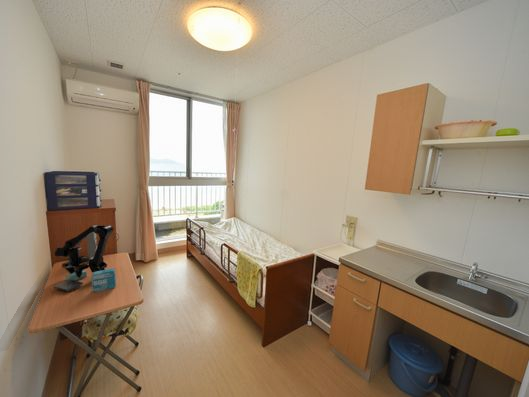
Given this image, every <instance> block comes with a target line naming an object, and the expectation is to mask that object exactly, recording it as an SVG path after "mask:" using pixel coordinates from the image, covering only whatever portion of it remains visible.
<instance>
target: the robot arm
mask: <svg viewBox="0 0 529 397" xmlns="http://www.w3.org/2000/svg"><path fill="white" fill-rule="evenodd" d="M93 232H94V233H96V235H98V237H99V239H98V241H97V249H96V252H95V255H94V257H92V258H90V259H89V258H88V256H83V255H80V251H81V250H82V249H83V248H82V247H80V246H79V245H80V244H81V243H82V242H83V240H84V239H86V237H87V236H89V235H90V234H92V233H93ZM113 232H114V227H113V226H112V225H109V224H108V225H101V224H100V225H98V224H94V225H91V226H89V227H88V228H87V229H85V230H84V231H82V232H81V233H80V234H78V235H76V236H75V237H73V238H70V239H68V240H66V241H65V242H64V245H63V246H58V247H56V250H55V252H54V256H55V257H56V258H66V257H67V258H66V259H67V261H65V262H64V263H62V264H61V267H62V269H65V270H66V271H67V272H68V273H69V274H72V273H76V275H77V277H78V278H80V277H81V274H82V271H83V270H87V269H89V270H90V272H91V273H93V272H96V271H101V270H106V268H107V266H108V263H106V262H105V261H104V257H103V256H104V253H105V249H106V248H107V247H106V246H107V244H108V240H109V238H110V237H111V236H112V234H113Z"/></svg>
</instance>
